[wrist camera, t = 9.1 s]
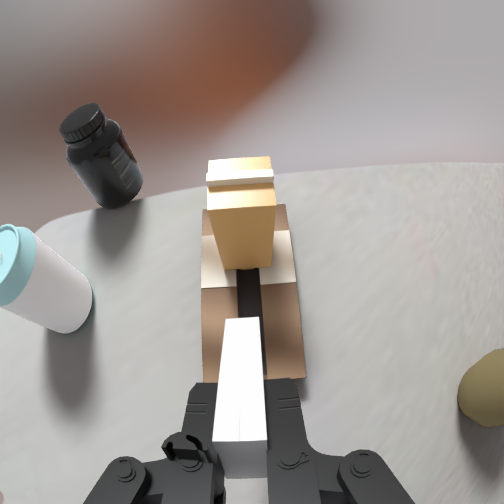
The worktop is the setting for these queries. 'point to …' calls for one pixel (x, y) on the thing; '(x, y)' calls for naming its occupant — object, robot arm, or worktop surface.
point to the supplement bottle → (101, 156)
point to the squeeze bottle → (484, 390)
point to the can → (41, 282)
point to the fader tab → (242, 211)
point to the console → (253, 304)
